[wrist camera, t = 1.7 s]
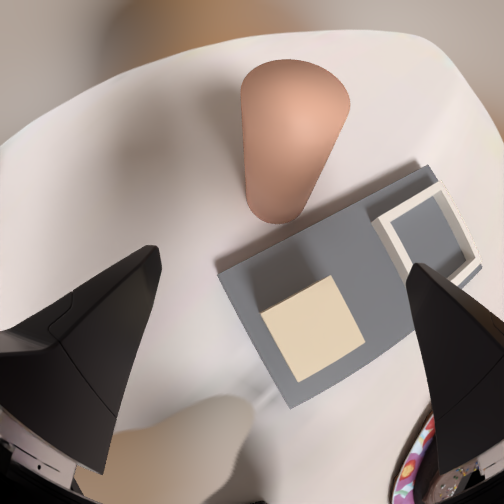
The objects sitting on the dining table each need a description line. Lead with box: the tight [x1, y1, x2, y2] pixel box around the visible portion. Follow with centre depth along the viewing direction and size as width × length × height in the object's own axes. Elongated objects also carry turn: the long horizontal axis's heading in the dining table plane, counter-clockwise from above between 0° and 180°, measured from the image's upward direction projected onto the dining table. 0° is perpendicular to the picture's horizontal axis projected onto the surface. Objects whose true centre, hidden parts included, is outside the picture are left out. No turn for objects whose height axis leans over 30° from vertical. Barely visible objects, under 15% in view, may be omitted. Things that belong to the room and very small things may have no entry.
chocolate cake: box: [390, 410, 479, 504], centre depth 16 cm, size 28×28×7 cm
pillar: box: [241, 59, 350, 224], centre depth 18 cm, size 5×5×13 cm
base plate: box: [217, 165, 482, 409], centre depth 20 cm, size 12×23×6 cm, turn 118°
